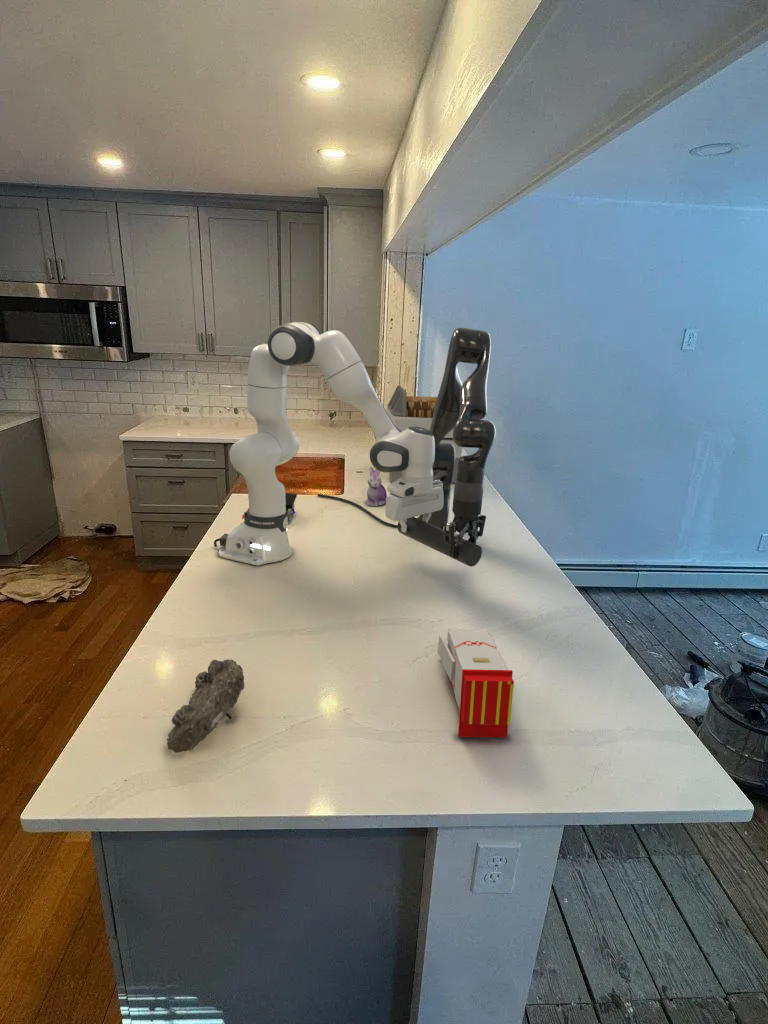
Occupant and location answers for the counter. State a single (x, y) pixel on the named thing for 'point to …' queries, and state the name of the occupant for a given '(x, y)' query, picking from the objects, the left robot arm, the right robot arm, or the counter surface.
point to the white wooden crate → (416, 419)
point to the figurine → (375, 489)
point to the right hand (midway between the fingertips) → (462, 554)
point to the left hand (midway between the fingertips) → (414, 529)
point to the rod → (441, 541)
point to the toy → (478, 682)
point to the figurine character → (290, 504)
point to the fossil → (206, 705)
